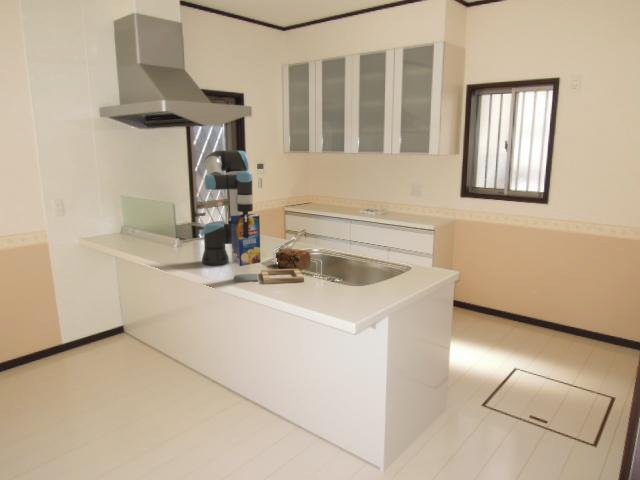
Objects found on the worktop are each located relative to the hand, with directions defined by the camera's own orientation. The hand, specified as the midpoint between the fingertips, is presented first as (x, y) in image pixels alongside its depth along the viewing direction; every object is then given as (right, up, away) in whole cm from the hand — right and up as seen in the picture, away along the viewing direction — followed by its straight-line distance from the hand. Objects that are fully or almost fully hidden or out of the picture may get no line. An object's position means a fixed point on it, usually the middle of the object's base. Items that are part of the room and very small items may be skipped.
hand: (245, 249), depth 229 cm
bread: (+22, -10, +29) cm, 37 cm away
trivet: (0, -15, +3) cm, 15 cm away
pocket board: (+18, -15, +6) cm, 24 cm away
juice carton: (0, -7, +1) cm, 7 cm away
